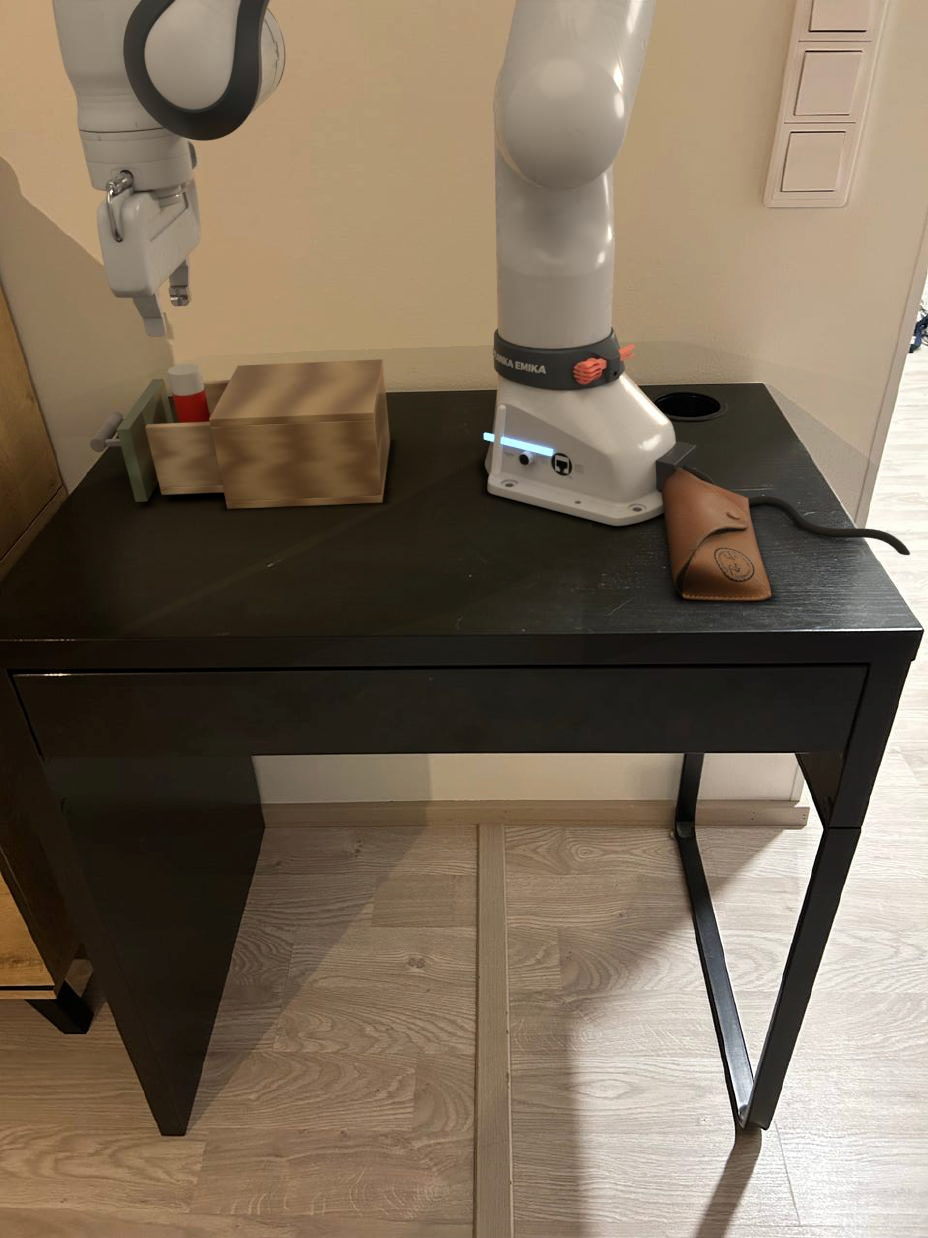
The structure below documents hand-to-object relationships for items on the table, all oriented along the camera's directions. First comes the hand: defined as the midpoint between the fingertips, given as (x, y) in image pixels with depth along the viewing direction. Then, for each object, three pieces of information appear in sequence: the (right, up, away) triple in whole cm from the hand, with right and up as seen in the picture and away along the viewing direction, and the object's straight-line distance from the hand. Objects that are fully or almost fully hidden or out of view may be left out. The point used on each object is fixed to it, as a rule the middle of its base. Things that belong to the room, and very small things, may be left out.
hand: (171, 318), depth 92 cm
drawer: (0, -13, +9) cm, 16 cm away
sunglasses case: (+51, -23, -6) cm, 56 cm away
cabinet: (+12, -14, +9) cm, 21 cm away
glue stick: (+1, -12, +8) cm, 15 cm away
